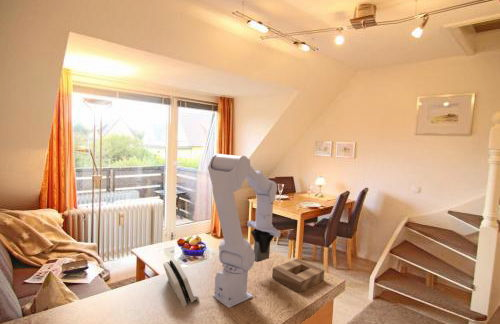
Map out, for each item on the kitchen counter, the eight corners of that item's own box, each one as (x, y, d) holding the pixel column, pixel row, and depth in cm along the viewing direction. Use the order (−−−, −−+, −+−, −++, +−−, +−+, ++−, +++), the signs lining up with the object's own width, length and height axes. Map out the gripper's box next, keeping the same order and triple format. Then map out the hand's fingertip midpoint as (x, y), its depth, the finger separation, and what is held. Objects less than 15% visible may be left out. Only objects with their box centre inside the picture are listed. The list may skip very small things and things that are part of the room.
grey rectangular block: (257, 262, 96) (258, 242, 95) (253, 260, 97) (254, 240, 97) (269, 258, 100) (270, 239, 99) (265, 256, 101) (266, 237, 101)
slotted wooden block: (299, 292, 88) (300, 282, 88) (272, 277, 97) (272, 268, 97) (323, 279, 98) (324, 270, 98) (296, 267, 107) (297, 258, 107)
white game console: (200, 302, 80) (190, 273, 77) (184, 311, 78) (174, 282, 75) (183, 276, 94) (174, 251, 92) (169, 283, 92) (160, 257, 90)
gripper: (287, 217, 95) (284, 255, 96) (257, 207, 105) (255, 242, 106) (273, 220, 90) (270, 260, 91) (244, 210, 100) (241, 246, 101)
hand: (261, 251), depth 98 cm, fingers closed on grey rectangular block, 2 cm apart
